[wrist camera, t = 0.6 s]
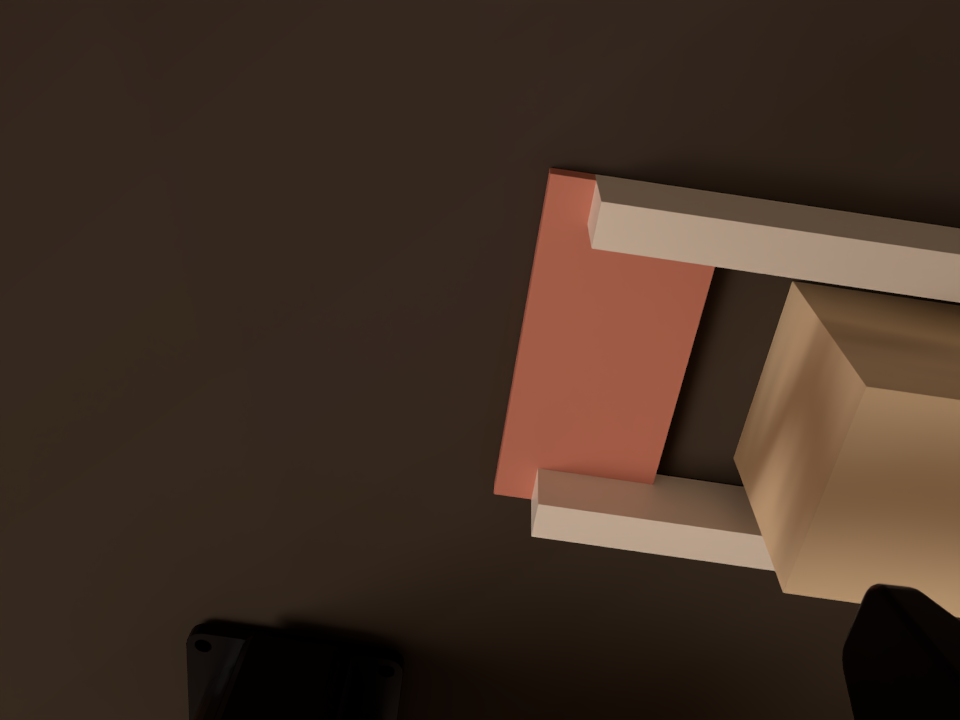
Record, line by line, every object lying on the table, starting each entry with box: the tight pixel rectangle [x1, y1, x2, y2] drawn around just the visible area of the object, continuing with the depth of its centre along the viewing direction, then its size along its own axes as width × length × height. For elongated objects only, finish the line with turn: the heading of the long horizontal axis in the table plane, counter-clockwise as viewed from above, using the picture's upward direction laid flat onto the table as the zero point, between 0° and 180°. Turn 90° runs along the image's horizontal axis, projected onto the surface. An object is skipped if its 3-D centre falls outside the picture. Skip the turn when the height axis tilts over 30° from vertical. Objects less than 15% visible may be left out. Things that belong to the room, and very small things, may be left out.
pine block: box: [734, 281, 960, 617], centre depth 19 cm, size 5×5×5 cm
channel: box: [494, 168, 960, 571], centre depth 20 cm, size 9×20×2 cm, turn 82°
